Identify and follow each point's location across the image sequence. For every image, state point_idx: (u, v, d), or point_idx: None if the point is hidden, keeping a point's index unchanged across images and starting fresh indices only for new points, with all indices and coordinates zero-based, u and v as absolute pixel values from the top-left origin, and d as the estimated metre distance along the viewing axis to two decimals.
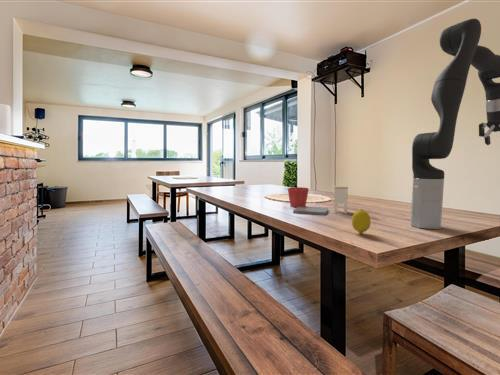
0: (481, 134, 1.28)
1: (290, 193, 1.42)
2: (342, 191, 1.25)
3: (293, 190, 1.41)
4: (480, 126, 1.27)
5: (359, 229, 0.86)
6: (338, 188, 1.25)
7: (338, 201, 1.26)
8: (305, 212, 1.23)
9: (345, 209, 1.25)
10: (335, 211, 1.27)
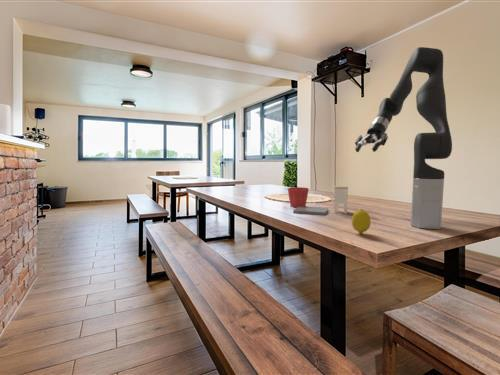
0: (356, 141, 1.38)
1: (290, 193, 1.42)
2: (342, 191, 1.25)
3: (293, 190, 1.41)
4: (360, 136, 1.39)
5: (359, 229, 0.86)
6: (338, 188, 1.25)
7: (338, 201, 1.26)
8: (305, 212, 1.23)
9: (345, 209, 1.25)
10: (335, 211, 1.27)
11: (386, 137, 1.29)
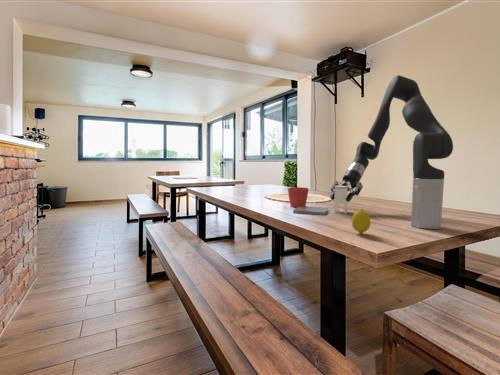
0: (332, 188, 1.33)
1: (290, 193, 1.42)
2: (342, 191, 1.25)
3: (293, 190, 1.41)
4: (335, 182, 1.35)
5: (359, 229, 0.86)
6: (338, 188, 1.25)
7: (338, 201, 1.26)
8: (305, 212, 1.23)
9: (345, 209, 1.25)
10: (335, 211, 1.27)
11: (361, 187, 1.25)
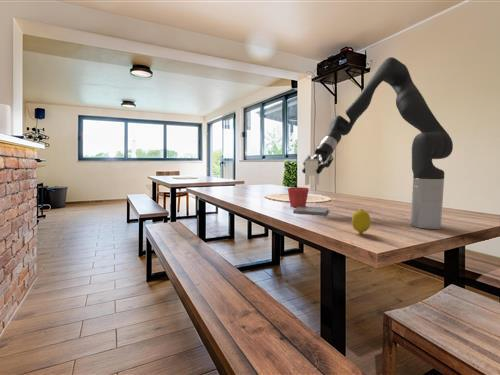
0: (304, 162, 1.33)
1: (290, 193, 1.42)
2: (313, 163, 1.25)
3: (293, 190, 1.41)
4: (308, 156, 1.35)
5: (359, 229, 0.86)
6: (308, 160, 1.25)
7: (309, 173, 1.26)
8: (305, 212, 1.23)
9: (315, 181, 1.25)
10: (306, 184, 1.27)
11: (331, 159, 1.25)
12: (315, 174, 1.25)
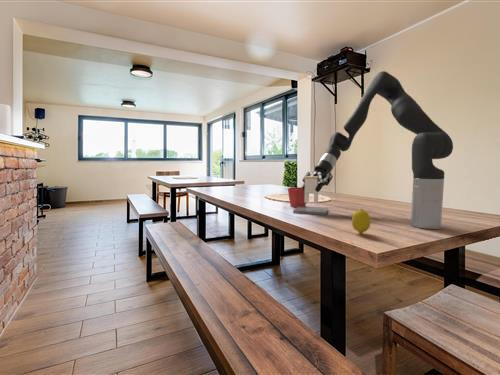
0: (304, 179, 1.34)
1: (290, 193, 1.42)
2: (312, 181, 1.25)
3: (293, 190, 1.41)
4: (307, 173, 1.35)
5: (359, 229, 0.86)
6: (308, 178, 1.26)
7: (308, 191, 1.27)
8: (305, 212, 1.23)
9: (315, 199, 1.26)
10: (305, 201, 1.27)
11: (330, 177, 1.26)
12: (314, 192, 1.26)
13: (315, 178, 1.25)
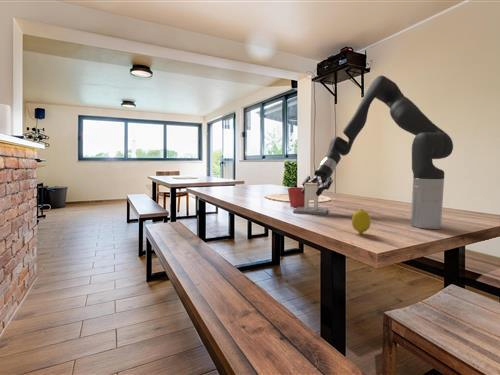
0: (304, 183, 1.34)
1: (290, 193, 1.42)
2: (312, 188, 1.26)
3: (293, 190, 1.41)
4: (307, 177, 1.36)
5: (359, 229, 0.86)
6: (308, 185, 1.26)
7: (308, 198, 1.27)
8: (305, 212, 1.23)
9: (315, 206, 1.26)
10: (305, 208, 1.28)
11: (331, 181, 1.26)
12: (314, 199, 1.26)
13: (315, 185, 1.25)
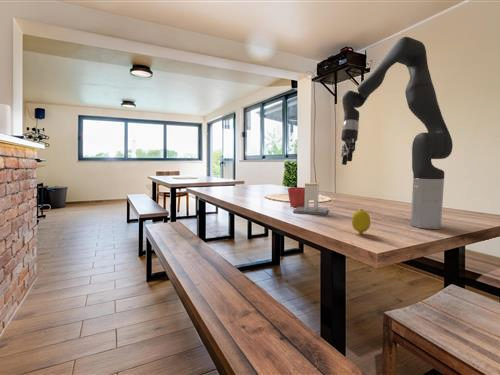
0: (342, 154, 1.41)
1: (290, 193, 1.42)
2: (312, 188, 1.26)
3: (293, 190, 1.41)
4: (342, 147, 1.42)
5: (359, 229, 0.86)
6: (308, 185, 1.26)
7: (308, 198, 1.27)
8: (305, 212, 1.23)
9: (315, 206, 1.26)
10: (305, 208, 1.28)
11: (353, 141, 1.28)
12: (314, 199, 1.26)
13: (315, 185, 1.25)
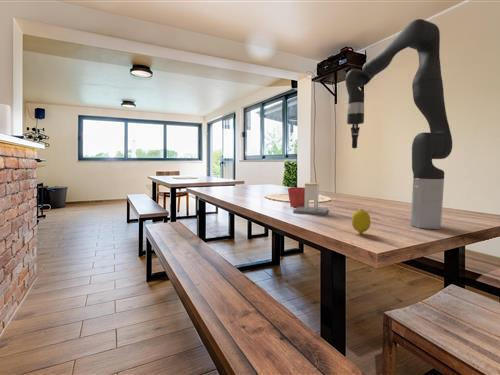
0: None
1: (290, 193, 1.42)
2: (312, 188, 1.26)
3: (293, 190, 1.41)
4: None
5: (359, 229, 0.86)
6: (308, 185, 1.26)
7: (308, 198, 1.27)
8: (305, 212, 1.23)
9: (315, 206, 1.26)
10: (305, 208, 1.28)
11: (355, 127, 1.26)
12: (314, 199, 1.26)
13: (315, 185, 1.25)
